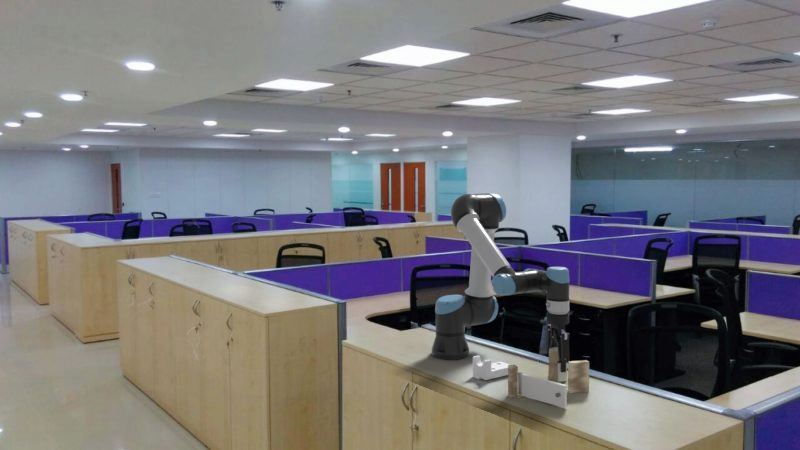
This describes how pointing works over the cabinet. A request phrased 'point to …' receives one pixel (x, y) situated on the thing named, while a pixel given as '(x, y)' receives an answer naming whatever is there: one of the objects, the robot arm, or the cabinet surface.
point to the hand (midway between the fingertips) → (557, 377)
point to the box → (554, 365)
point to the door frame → (576, 378)
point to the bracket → (488, 369)
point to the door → (542, 390)
